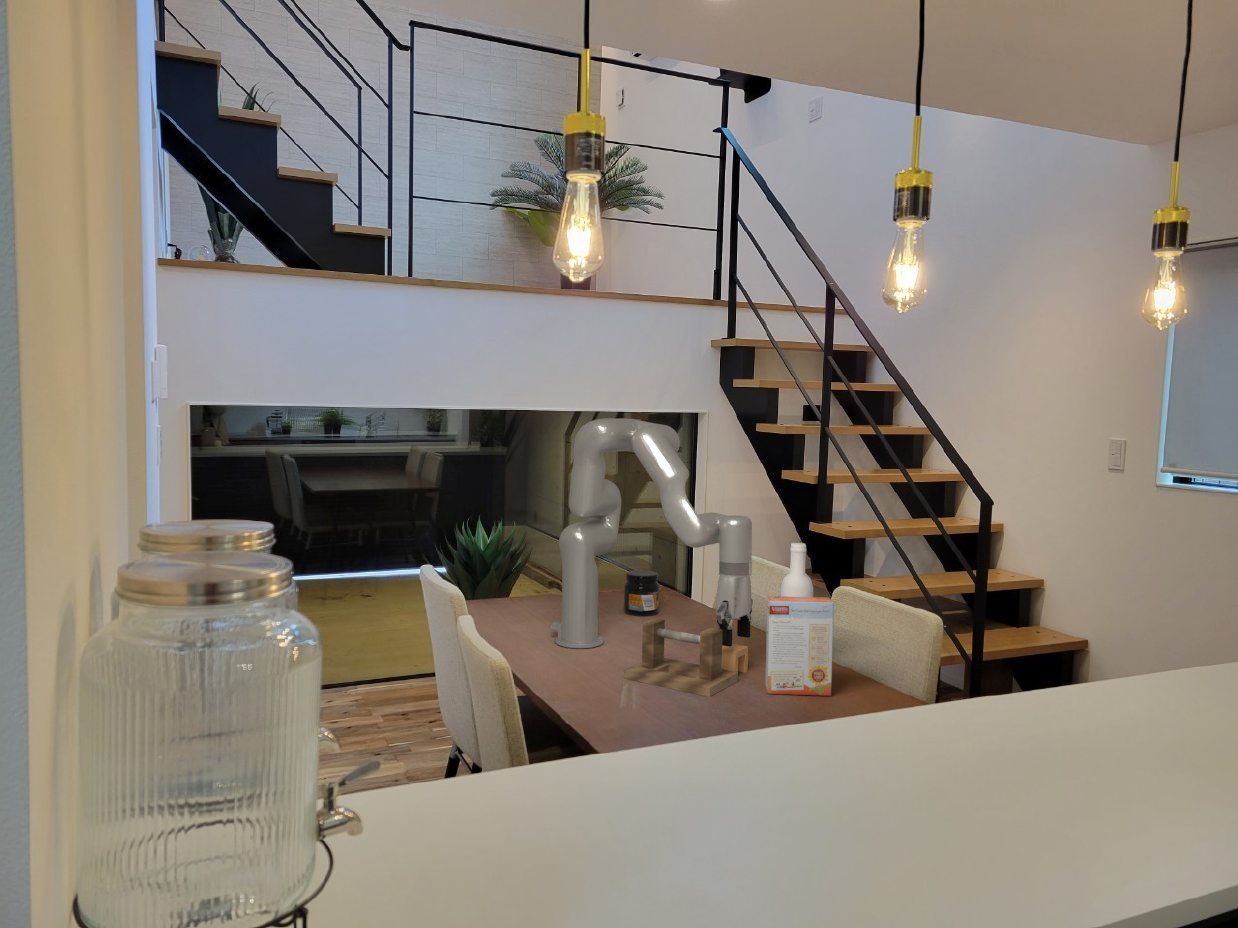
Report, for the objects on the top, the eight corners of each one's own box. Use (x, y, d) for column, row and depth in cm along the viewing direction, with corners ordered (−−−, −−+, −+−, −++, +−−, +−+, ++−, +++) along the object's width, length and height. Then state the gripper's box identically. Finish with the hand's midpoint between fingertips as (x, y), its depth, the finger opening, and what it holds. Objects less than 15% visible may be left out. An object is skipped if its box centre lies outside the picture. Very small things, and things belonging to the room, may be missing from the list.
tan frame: (623, 678, 209) (624, 624, 208) (655, 664, 221) (656, 613, 220) (709, 696, 197) (711, 639, 196) (737, 680, 209) (739, 627, 208)
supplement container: (652, 618, 268) (652, 577, 267) (618, 614, 271) (619, 574, 270) (663, 610, 277) (664, 571, 277) (630, 607, 281) (631, 568, 280)
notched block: (715, 674, 214) (716, 649, 213) (728, 667, 219) (729, 642, 219) (734, 678, 211) (735, 652, 211) (747, 671, 217) (748, 646, 216)
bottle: (771, 666, 221) (775, 543, 219) (786, 659, 227) (790, 540, 225) (802, 673, 216) (806, 547, 214) (816, 665, 222) (821, 543, 220)
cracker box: (827, 688, 205) (830, 596, 203) (831, 697, 199) (835, 602, 197) (764, 685, 206) (767, 594, 204) (766, 694, 200) (769, 600, 198)
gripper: (736, 562, 223) (736, 631, 224) (703, 572, 208) (703, 646, 209) (765, 565, 219) (764, 635, 220) (733, 575, 204) (733, 651, 205)
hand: (734, 641), depth 214 cm, fingers open, 9 cm apart
